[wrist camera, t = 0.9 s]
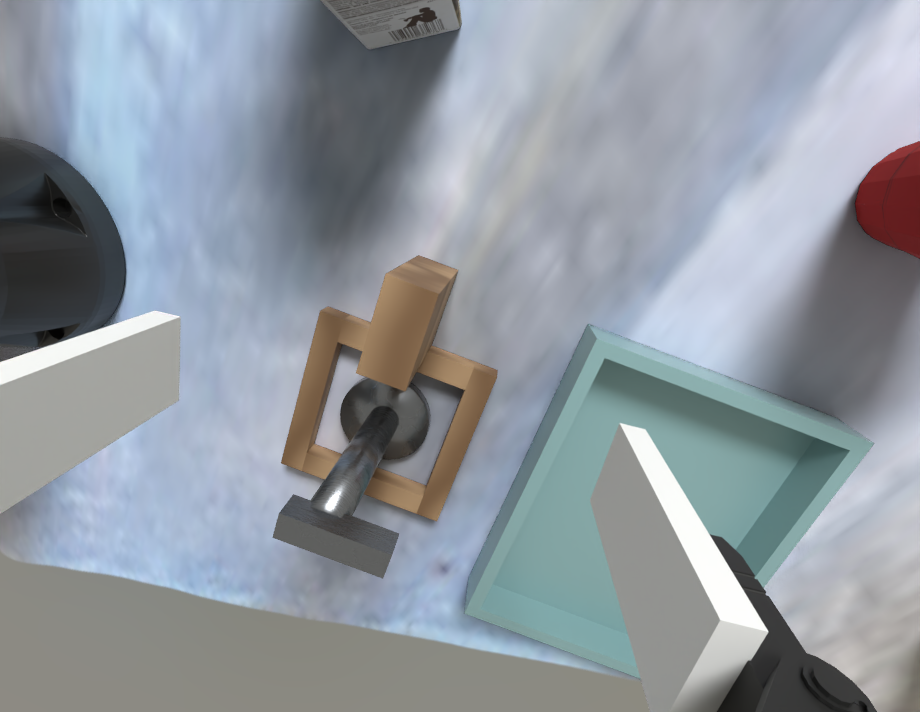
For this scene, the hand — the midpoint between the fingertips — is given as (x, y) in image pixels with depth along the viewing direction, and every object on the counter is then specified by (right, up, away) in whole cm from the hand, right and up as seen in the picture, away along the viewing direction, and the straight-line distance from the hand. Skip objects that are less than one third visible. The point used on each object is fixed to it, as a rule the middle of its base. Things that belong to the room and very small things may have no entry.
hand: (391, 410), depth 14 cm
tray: (+16, -10, +24) cm, 30 cm away
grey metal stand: (-4, -3, +24) cm, 24 cm away
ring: (-3, 0, +23) cm, 23 cm away
